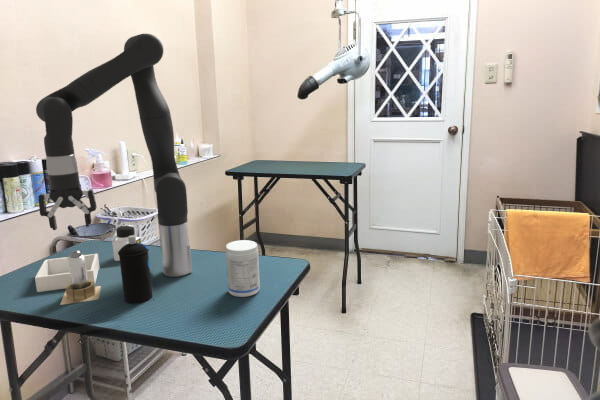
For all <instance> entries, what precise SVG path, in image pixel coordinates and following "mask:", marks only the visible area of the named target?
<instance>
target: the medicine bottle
mask: <svg viewBox="0 0 600 400" xmlns="http://www.w3.org/2000/svg"><path fill="white" fill-rule="evenodd" d="M115 232H116V238H117V239H116V240H114V241H112V243H111V244H112V251H113V259H114V261H116V262H120V258H119V255H118V252H119V250H120V249H121V248H122V247H123V246H125V245H126V244H128V243H129V240H128V237H129V236H131V235H135V236H136V234H135V232H136V231H135V226H134V225H132V224H131V225H130V224H124V225H120V226H118V227H116V231H115ZM136 242H137V243H141V244H142V240H141V237H140V236H136Z"/></svg>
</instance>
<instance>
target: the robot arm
mask: <svg viewBox="0 0 600 400" xmlns="http://www.w3.org/2000/svg"><path fill="white" fill-rule="evenodd" d="M163 45H164V44H163V43H162V41H161V40H160V39H159V38H158V37H157V36H156V35H154V34H151V33H141V34H140V33H139V34H136V35H134V36H131V37H128V39H127V40H126V41H125V43H124V45H123V51H122V52H120V53H119V54H118V55H117V56H115V57H113V58H111V59H109V60H108V61H105V62H104V63H102V64H100V65H98V66H96V67H94V68H91V69H90V70H88V71H86V72H85V73H83V74H81V75H80V76H79V77H77V78H75V79H74V80H73V81H71V82H70V83H69V84H67V85H66V86H64V87H62V88H59V89H58V90H56V91H54V92H52V93H50V94H48V95H46V96H44V97H43V98H41V99H40V100H39V101H38V103H37V104H36V107H35V108H36V109H35V111H36V115H37V117H38V118H39V120H41V121H43V122H44V124H45V125H44V127H45V133H46V134H45V136H43V146H44V152H45V158H46V159H45V160H46V161H45V162H46V173H47V176H48V182H49V183H48V184H49V189H50V193H43V192H42V193H40V194H39V195H38V196H37V197H38V207H39V215H40V217H47V218H48V223H49V227H50V229H52V230H53V231H56V230H57V229H58V225H57V219H56V215H55V213H56V212H57V210H58V209H59V208H61V209H66V208H75V207H77V208H78V209H79V210H81V211H82V212H83V213H84V223H85V227H86V228H88V227H90V225H92V215H91V213H92V212H96V210H97V207H98V206H97V202H96V196H95V194H94V193H95V192H94V189H93V188H89V189H88V190H82V187H81V182H80V175H79V169H78V168H79V167H78V162H77V158H76V154H75V149H74V148H75V147H74V142H73V124H74V123H73V122H74V121H73V111H75V110H77V109H79V108H83V107H85V106H88V105H90V104H91V103H92V102H94V101H95V100H97V99H98V98H99V97H101V96H103V95H104V94H105V93H107V92H108V91H110V90H111V89H112V88H113V87H116V85H118V84H120V83H121V82H122V81H124V80H126V79H127V78H129V77H131V81H132V85H133V88H134V95H135V98H136V99H135V100H136V105H137V108H138V115H139V119H140V120H139V121H140V124H141V129H142V134H143V138H144V141H145V144H146V147H147V150H148V153H149V156H150V159H151V166H152V167H151V168H152V173H153V175H152V176H153V186H154V187H153V188H154V192H155V196H156V206H157V222H158V223H157V224H158V232H159V243H160V252H161V263H162V264H161V265H162V266H161V267H162V274H163V275H164V276H166V277H172V278H173V277H175V278H176V277H182V276H183V277H184V276H186V275H189V274H192V273H193V265H192V253H191V252H192V251H191V244H190V236H189V223H188V211H189V210H188V198H187V197H188V195H187V194H188V193H187V187H186V183H185V182H184V180H183V179H182V177H181V176H180V171H179V169H178V165H177V161H176V158H175V136H174V126H173V121H172V114H171V110H170V108H169V105H168V103H167V101H166V99H165V98H164V96H163V94H162V91H161V90H160V88H159V85H158V82H157V79H156V75H155V67H154V65H156V64H158V63H160V61H161V60H162V58H163V56H164V46H163ZM83 196H85V198H86V199H88V201H89V205H90V206H88V205H87V204H86V203H85V202H84V201H83V199H82V197H83ZM49 199H50V201H52V202H53V203H54V204H53V206H52V207H51V209H50V210H47V201H48V200H49Z"/></svg>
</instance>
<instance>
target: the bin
mask: <svg viewBox="0 0 600 400" xmlns="http://www.w3.org/2000/svg"><path fill="white" fill-rule="evenodd" d="M84 255H85V263H86V270H87V277H88V280H90V281H94V283H95V284H96V282H97V276H98V273H99V270H100V268H101V267H100V261H99V260H100V259H99V254H98V253H92V254H84ZM34 280H35V288H36V292H37V293H41V292H48V291H56V290H62V289H63V290H64V289H66V287H67V285H69V284H71V277H70V270H69V263H68V256H67V257H56V258H49V259H45V260H44V261H43V263H42V265H41V266H40V268H39V270H38V272H37V273H36V275H35V277H34Z"/></svg>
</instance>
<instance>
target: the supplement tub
mask: <svg viewBox="0 0 600 400" xmlns="http://www.w3.org/2000/svg"><path fill="white" fill-rule="evenodd" d="M259 259H260V258H259V247H258V243H257V242H255V241H253V240H249V239H241V240H234V241H233V240H232V241H231V242H228V243H227V244H226V245H225V263H226V264H225V265H226V277H227V290H228V293H229V294H230V295H231V296H233V297H238V298H245V297H246V298H247V297H250V296H254V295H256V294H257V293H258V292H260V289H261V286H260V285H261V284H260V265H259V264H260V263H259V262H260V260H259Z"/></svg>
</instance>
